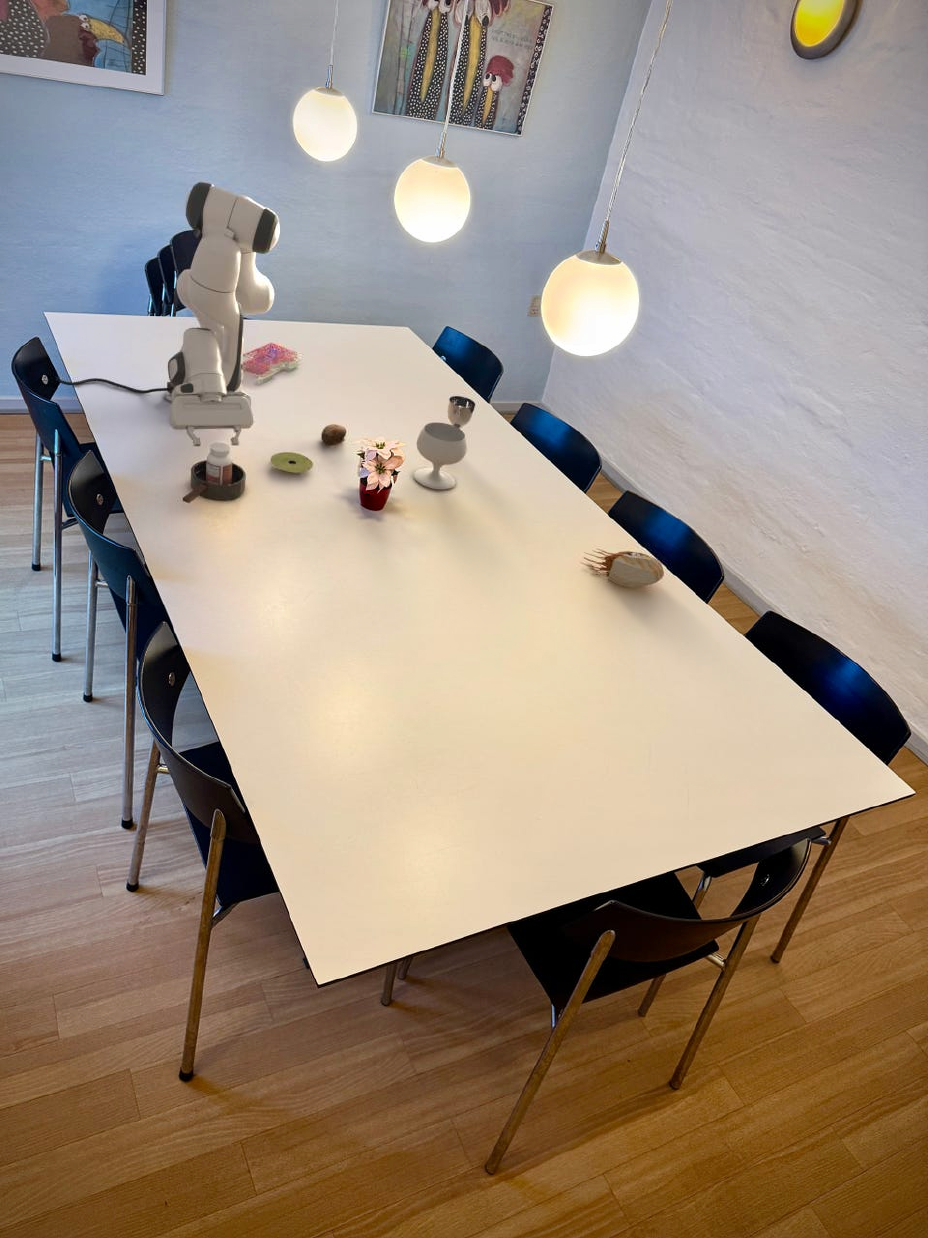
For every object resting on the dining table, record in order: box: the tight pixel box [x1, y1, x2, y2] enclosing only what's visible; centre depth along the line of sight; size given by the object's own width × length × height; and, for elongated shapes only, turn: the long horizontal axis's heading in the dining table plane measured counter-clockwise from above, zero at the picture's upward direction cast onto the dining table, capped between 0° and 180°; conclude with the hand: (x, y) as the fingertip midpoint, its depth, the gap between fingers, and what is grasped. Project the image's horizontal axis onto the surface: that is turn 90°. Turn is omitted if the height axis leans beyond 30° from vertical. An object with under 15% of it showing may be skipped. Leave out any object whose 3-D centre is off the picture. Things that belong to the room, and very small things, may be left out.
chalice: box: [413, 421, 468, 490], centre depth 247 cm, size 14×14×15 cm
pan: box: [190, 459, 247, 502], centre depth 222 cm, size 13×13×4 cm
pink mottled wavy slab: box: [243, 342, 303, 385], centre depth 288 cm, size 30×15×5 cm, turn 158°
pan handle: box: [182, 483, 208, 504], centre depth 212 cm, size 2×9×1 cm, turn 165°
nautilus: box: [579, 548, 665, 589], centre depth 228 cm, size 8×22×15 cm
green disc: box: [270, 451, 314, 473], centre depth 239 cm, size 11×11×2 cm
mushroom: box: [320, 423, 347, 447], centre depth 255 cm, size 8×8×6 cm
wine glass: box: [447, 395, 476, 430], centre depth 267 cm, size 8×8×15 cm
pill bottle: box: [206, 442, 233, 485], centre depth 220 cm, size 6×6×11 cm
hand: (216, 445), depth 220 cm, fingers open, 8 cm apart
